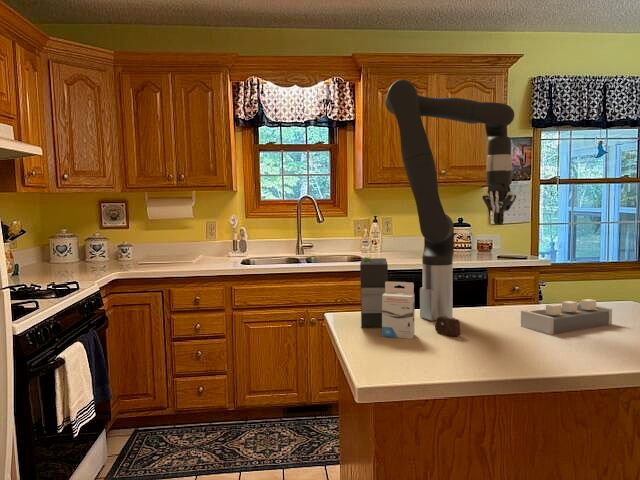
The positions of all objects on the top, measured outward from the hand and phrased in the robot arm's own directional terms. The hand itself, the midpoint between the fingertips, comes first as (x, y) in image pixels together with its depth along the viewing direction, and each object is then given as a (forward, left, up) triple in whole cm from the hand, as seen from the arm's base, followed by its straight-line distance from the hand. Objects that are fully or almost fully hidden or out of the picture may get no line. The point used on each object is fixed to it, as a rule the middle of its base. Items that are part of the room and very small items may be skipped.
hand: (498, 224), depth 157 cm
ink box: (-42, -7, -29) cm, 52 cm away
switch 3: (+14, -22, -25) cm, 36 cm away
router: (-40, +10, -29) cm, 51 cm away
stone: (-29, -12, -29) cm, 43 cm away
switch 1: (0, -22, -25) cm, 33 cm away
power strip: (+7, -20, -29) cm, 36 cm away
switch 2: (+7, -21, -25) cm, 33 cm away
